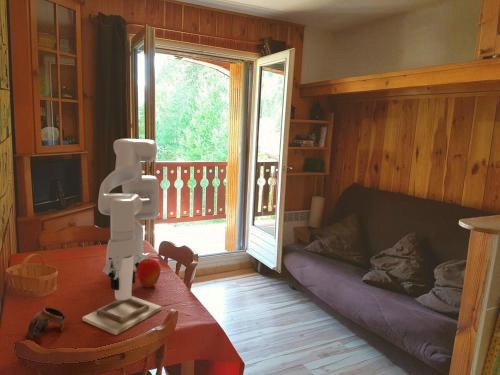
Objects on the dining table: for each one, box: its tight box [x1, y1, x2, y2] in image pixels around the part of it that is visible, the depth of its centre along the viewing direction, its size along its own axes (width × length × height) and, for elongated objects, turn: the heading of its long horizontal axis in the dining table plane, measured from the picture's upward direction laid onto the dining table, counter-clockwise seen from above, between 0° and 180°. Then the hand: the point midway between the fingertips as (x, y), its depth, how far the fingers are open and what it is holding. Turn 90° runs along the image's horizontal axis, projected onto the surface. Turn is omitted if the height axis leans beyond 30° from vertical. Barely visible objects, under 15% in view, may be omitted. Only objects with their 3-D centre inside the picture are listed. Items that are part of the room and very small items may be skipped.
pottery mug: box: [27, 306, 66, 339], centre depth 113 cm, size 12×10×8 cm
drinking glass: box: [113, 255, 134, 300], centre depth 124 cm, size 7×7×15 cm
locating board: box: [82, 295, 162, 336], centre depth 126 cm, size 20×16×3 cm
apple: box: [136, 257, 162, 288], centre depth 149 cm, size 9×9×12 cm
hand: (123, 285), depth 125 cm, fingers closed on drinking glass, 6 cm apart
